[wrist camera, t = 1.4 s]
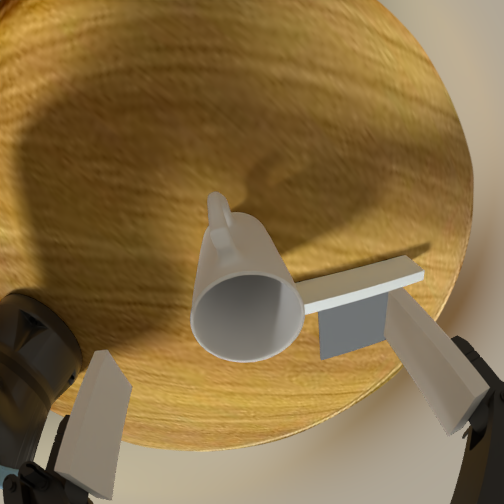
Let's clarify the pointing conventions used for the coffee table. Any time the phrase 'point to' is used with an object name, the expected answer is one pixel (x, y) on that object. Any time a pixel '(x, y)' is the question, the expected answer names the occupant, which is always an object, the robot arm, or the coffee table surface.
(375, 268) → the wall
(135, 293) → the coffee table surface
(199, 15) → the coffee table surface
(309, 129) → the coffee table surface
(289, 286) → the mug
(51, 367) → the robot arm
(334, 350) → the mat
